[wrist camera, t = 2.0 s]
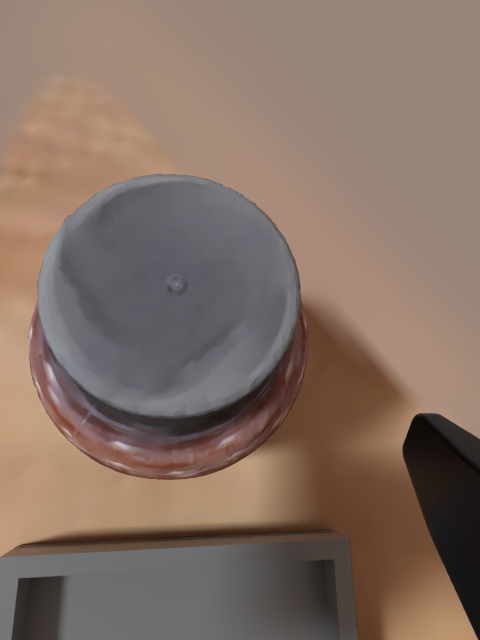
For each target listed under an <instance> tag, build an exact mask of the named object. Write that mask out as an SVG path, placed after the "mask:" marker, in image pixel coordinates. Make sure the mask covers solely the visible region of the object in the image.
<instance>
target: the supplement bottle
mask: <svg viewBox="0 0 480 640" xmlns="http://www.w3.org/2000/svg"><path fill="white" fill-rule="evenodd" d="M28 337H29V346H28V348H29V360H30V368H31V375H32V379H33V381H34V386H35V388H36V390H37V392H38V396H39V398H40V400H41V402H42V404H43V406H44V408H45V410H46V412H47V414H48V415H49V417H50V418H51V420H52V421H53V423H54V424H55V426H56V427H57V428H58V429H59V431H60V432H61V433H62V434H63V435H64V436H65V437H66V438H67V439H68V440H69V441H70V442H71V443H72V444H73V445H74V446H76V447H77V448H78V449H79V450H80V451H82V452H83V453H84V454H86V455H87V456H89V457H90V458H91V459H93V460H94V461H96V462H98V463H99V464H102V465H104V466H106V467H108V468H110V469H113V470H115V471H117V472H120V473H123V474H127V475H130V476H136V477H142V478H148V479H164V480H174V479H188V478H196V477H200V476H204V475H208V474H211V473H214V472H217V471H220V470H223V469H225V468H227V467H229V466H231V465H233V464H235V463H236V462H238V461H240V460H241V459H243V458H245V457H246V456H247V455H249V454H250V453H252V452H253V451H254V450H256V449H257V448H258V447H259V446H260V445H262V444H263V443H264V442H265V441H266V440H267V439H268V438H269V437H270V436H271V435H272V434H273V433H274V432H275V431H276V430H277V429H278V427H279V426H280V425H281V423H282V421H283V420H284V419H285V417H286V416H287V414H288V412H289V411H290V409H291V407H292V405H293V403H294V401H295V400H296V397H297V395H298V392H299V390H300V387H301V385H302V380H303V377H304V372H305V368H306V363H307V352H308V331H307V321H306V317H305V314H304V310H303V306H302V302H301V294H300V280H299V273H298V269H297V266H296V262H295V259H294V257H293V255H292V253H291V250H290V248H289V246H288V244H287V242H286V239H285V238H284V236H283V235H282V234H281V232H280V231H279V230H278V228H277V227H276V225H275V224H274V223H273V222H272V220H271V219H270V218H269V217H268V216H267V215H266V214H265V213H264V212H263V211H262V210H261V209H260V208H259V207H258V206H257V205H256V204H255V203H253V202H252V201H250V200H248V199H247V198H246V197H244V196H243V195H242V194H240V193H238V192H236V191H234V190H232V189H231V188H227V187H225V186H223V185H222V184H219V183H216V182H214V181H211V180H208V179H204V178H199V177H194V176H189V175H176V174H169V175H163V174H154V175H147V176H142V177H136V178H132V179H130V180H127V181H124V182H120V183H116V184H113V185H112V186H110V187H108V188H106V189H104V190H102V191H101V192H99V193H98V194H96V195H94V196H93V197H92V198H90V199H89V200H88V201H86V202H85V203H84V204H82V205H81V206H80V207H79V208H77V210H76V211H75V212H74V213H73V214H72V215H69V216H68V217H67V218H66V219H65V220H64V222H63V225H62V227H61V228H60V229H59V230H58V232H57V233H56V235H55V236H54V237H53V239H52V241H51V243H50V245H49V247H48V249H47V251H46V253H45V255H44V261H43V264H42V267H41V270H40V275H39V280H38V300H37V303H36V305H35V310H34V313H33V316H32V320H31V325H30V331H29V336H28Z"/></svg>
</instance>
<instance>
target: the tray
mask: <svg viewBox="0 0 480 640" xmlns="http://www.w3.org/2000/svg"><path fill="white" fill-rule="evenodd" d="M0 640H358V637H357V625H356V613H355V601H354V589H353V577H352V565H351V553H350V541H349V538H347V537H345V536H343V535H341V534H339V533H337V532H335V531H333V530H331V529H330V530H309V531H289V532H269V533H249V534H229V535H209V536H188V537H168V538H148V539H128V540H108V541H88V542H67V543H47V544H27V545H19V546H17V547H16V548H14V549H13V550H11V551H9V552H8V553H6V554H5V555H3V556H1V557H0Z"/></svg>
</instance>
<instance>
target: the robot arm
mask: <svg viewBox="0 0 480 640" xmlns="http://www.w3.org/2000/svg"><path fill="white" fill-rule="evenodd" d="M403 457H404V461H405V464H406V467H407V470H408V472H409V475H410V478H411V481H412V484H413V487H414V490H415V493H416V496H417V498H418V501H419V504H420V507H421V510H422V513H423V516H424V519H425V522H426V524H427V527H428V529H429V532H430V535H431V537H432V539H433V542H434V544H435V546H436V549H437V551H438V553H439V555H440V557H441V560H442V562H443V564H444V566H445V568H446V571H447V573H448V575H449V577H450V579H451V581H452V584H453V586H454V588H455V590H456V592H457V595H458V597H459V599H460V601H461V603H462V605H463V608H464V610H465V612H466V614H467V616H468V619H469V621H470V623H471V625H472V627H473V629H474V632H475V634H476V636H477V638H478V640H480V439H479V438H477V437H476V436H474V435H472V434H471V433H469V432H467V431H466V430H464V429H463V428H461V427H459V426H458V425H456V424H454V423H453V422H451V421H449V420H448V419H446V418H445V417H443V416H441V415H439V414H435V413H420V414H417V415H415V417H414V418H413V420H412V422H411V425H410V428H409V430H408V433H407V436H406V438H405V441H404V444H403Z"/></svg>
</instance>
